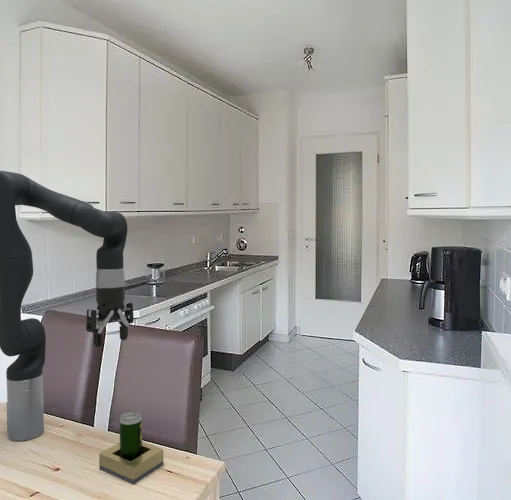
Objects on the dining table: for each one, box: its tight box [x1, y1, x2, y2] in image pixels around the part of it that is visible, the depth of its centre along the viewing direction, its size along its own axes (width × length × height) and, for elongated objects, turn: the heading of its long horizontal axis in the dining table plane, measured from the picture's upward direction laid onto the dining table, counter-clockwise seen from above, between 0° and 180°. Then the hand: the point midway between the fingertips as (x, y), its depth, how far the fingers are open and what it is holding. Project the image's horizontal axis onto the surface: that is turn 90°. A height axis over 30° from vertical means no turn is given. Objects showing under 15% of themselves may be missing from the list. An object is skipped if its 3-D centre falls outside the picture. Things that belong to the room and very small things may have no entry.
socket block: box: [98, 441, 164, 485], centre depth 111 cm, size 12×10×4 cm
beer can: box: [119, 411, 143, 461], centre depth 111 cm, size 5×5×12 cm
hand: (111, 343), depth 122 cm, fingers open, 8 cm apart
